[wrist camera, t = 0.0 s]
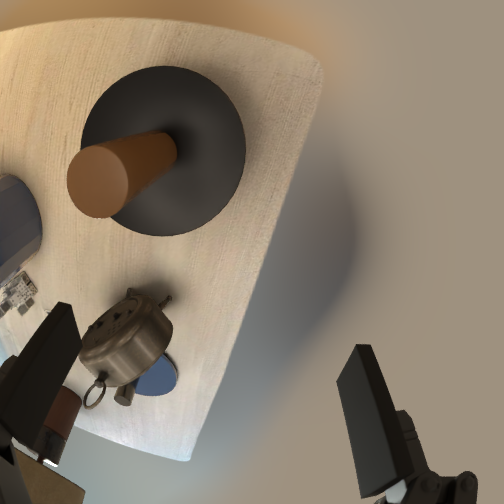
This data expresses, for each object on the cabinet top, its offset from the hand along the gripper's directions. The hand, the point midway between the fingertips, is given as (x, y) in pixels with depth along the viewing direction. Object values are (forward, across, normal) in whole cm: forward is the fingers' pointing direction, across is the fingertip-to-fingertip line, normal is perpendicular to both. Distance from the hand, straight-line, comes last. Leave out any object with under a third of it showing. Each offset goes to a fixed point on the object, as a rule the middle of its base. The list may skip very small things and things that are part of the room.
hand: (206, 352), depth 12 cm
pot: (+18, -30, -4) cm, 36 cm away
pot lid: (+18, -12, -26) cm, 34 cm away
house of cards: (+18, -31, -18) cm, 41 cm away
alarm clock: (+18, -10, -13) cm, 25 cm away
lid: (+13, -6, +6) cm, 15 cm away
